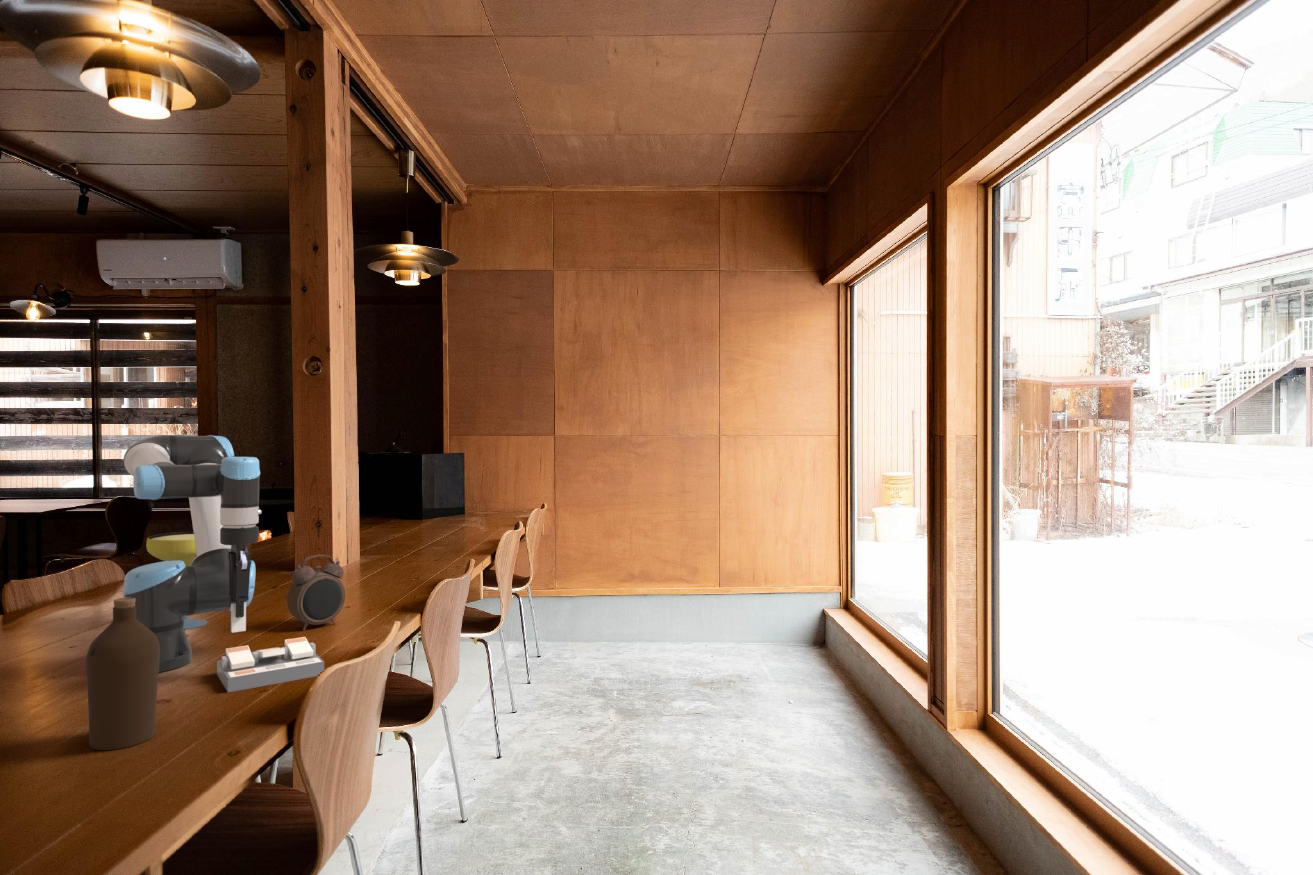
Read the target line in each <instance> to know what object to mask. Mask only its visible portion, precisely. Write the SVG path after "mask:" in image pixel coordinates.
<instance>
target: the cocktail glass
mask: <svg viewBox="0 0 1313 875" xmlns="http://www.w3.org/2000/svg"><path fill="white" fill-rule="evenodd" d="M145 546H146V551H147V552H148V554H150V555H151V556H152V557H154V558H156V559H159V560H161V561H174V560H180V561H183V562H184V563H185V565H186V566H191V563H192V561H193V559H194V558H195V557H196V556H197V552H196V545H195V538H194V531H179V532H166V533H159V534H154V535H150V536H148V537H147V538H146V545H145ZM207 624H208V621H207V619H199V618H198V619H197V618H193V619H190V618H189V615H188V616H184V630H186V629H188V630H193V628H194V629H197V628H202V627H204V626H206V625H207ZM201 626H202V627H201ZM186 631H187V630H186Z"/></svg>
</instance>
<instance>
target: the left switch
mask: <svg viewBox="0 0 1313 875" xmlns="http://www.w3.org/2000/svg"><path fill="white" fill-rule="evenodd" d="M225 655H226V658H227V660H228V662H229V664H230V667H231V670H232V669H238V668H244V667H250V666H254V664H255V660H254V658H253V656H252V651H251V649H250V647H249V645H241V646H236V647H235V646H234V647H229V648H225Z"/></svg>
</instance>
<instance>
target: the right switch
mask: <svg viewBox="0 0 1313 875" xmlns="http://www.w3.org/2000/svg"><path fill="white" fill-rule="evenodd" d="M284 647H286V648H287V649H288V652H289V654H290V656H291V658H292V659H298V658H304V657H310V656H313V649H312V648H311V646H310V642H309V640H308V639H307V638H306V636H302V637H296V638H288V639H284Z"/></svg>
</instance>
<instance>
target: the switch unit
mask: <svg viewBox="0 0 1313 875" xmlns="http://www.w3.org/2000/svg"><path fill="white" fill-rule="evenodd" d="M309 644H310V646H311V648H312V649H313V656H310V657H304V658H298V659H292V658H291V656H290V654H289V652H288V649H287V648H286V646H282V647H281V648H285V654H282V655H275V656H269V657H258V653H257V652H256V651H257V650H255V651H251V653H252V656H253V658H254V660H255V664H254V666H250V667H244V668H238V669H232V670H231V667H230V664H229V662H228V659H227V656H225V655H223V656H221V660H217V661H216V675H217V677H218V679H219V681H220V682H221V683H222V686H223V687H224V689H225V691H226V692H227V693H233V692H238V691H244V690H245V691H246V690H249V689H255V688H259V687H265V686H266V687H267V686H272V685H276V684H281V683H287V682H292V681H298V680H304V679H308V678H310V679H311V678H314V677H319V676H318V674H320V672H322V671H324V672H325V661H324V660H323V658H321V657H320V656H319V655H318V654H317V653H316V649H317V648H316V643H314V642H309Z"/></svg>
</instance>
